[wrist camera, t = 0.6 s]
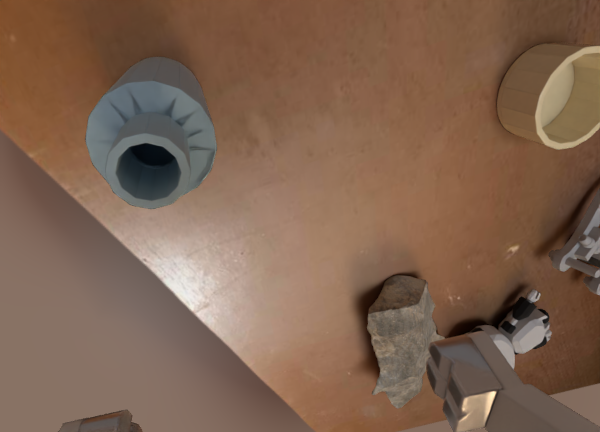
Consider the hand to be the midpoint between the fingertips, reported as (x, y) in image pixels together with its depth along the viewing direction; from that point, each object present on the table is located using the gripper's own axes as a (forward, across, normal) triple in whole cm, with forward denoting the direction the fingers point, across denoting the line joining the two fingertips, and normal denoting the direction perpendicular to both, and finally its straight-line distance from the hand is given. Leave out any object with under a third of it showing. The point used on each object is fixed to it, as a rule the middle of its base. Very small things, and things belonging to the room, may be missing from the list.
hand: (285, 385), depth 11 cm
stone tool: (+24, -14, +33) cm, 43 cm away
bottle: (+26, +6, 0) cm, 26 cm away
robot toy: (+25, -28, +38) cm, 54 cm away
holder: (+29, -29, +6) cm, 41 cm away
